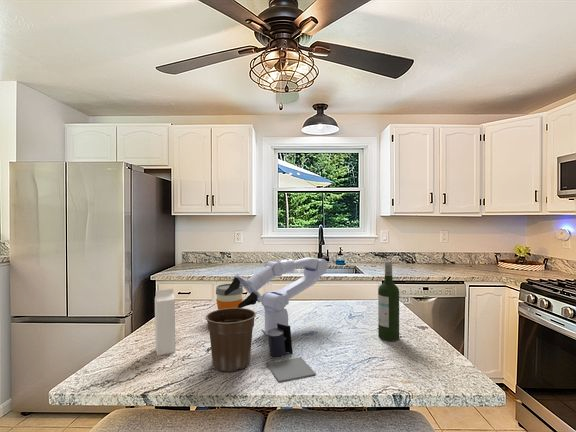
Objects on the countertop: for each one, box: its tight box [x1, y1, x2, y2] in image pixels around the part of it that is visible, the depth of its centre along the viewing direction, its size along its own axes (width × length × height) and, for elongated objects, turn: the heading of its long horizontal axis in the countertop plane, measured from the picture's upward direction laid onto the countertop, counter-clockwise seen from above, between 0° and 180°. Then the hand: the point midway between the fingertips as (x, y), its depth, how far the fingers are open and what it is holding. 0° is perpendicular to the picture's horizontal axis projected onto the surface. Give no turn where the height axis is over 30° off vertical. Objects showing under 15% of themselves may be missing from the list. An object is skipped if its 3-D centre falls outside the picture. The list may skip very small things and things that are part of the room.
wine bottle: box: [377, 260, 400, 342], centre depth 127 cm, size 8×8×30 cm
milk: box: [154, 288, 176, 357], centre depth 116 cm, size 6×6×22 cm
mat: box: [266, 356, 317, 383], centre depth 102 cm, size 12×12×1 cm
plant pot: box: [205, 307, 257, 373], centre depth 106 cm, size 16×16×16 cm
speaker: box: [267, 323, 294, 359], centre depth 113 cm, size 8×6×10 cm
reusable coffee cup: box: [215, 283, 244, 310], centre depth 151 cm, size 12×13×15 cm
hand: (231, 300), depth 121 cm, fingers open, 7 cm apart
